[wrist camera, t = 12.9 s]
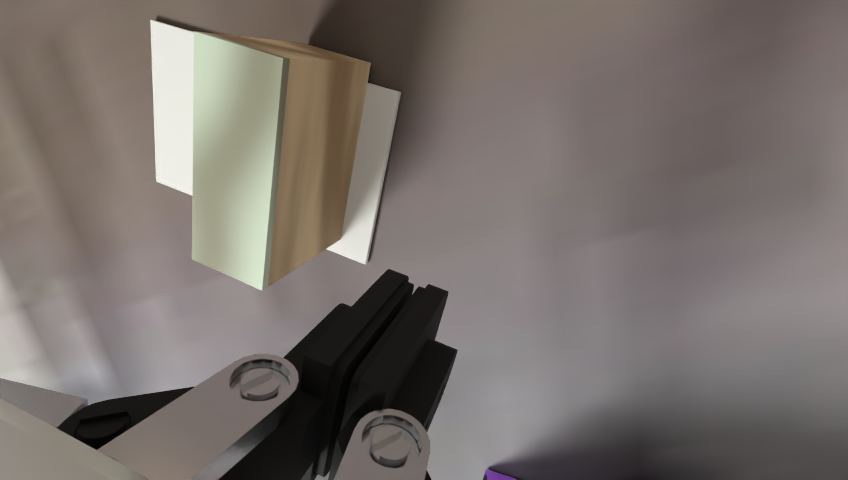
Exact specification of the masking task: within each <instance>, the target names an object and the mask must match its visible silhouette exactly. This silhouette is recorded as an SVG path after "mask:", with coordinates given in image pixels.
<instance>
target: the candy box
mask: <svg viewBox="0 0 848 480" xmlns="http://www.w3.org/2000/svg"><path fill="white" fill-rule="evenodd" d="M483 480H519V479H516V478H512V477H510V476H507V475H503V474H500V473H497V472H494V471H491V470H488V469H487V470H486V471H485V474H484V478H483Z"/></svg>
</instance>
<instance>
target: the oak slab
mask: <svg viewBox="0 0 848 480" xmlns="http://www.w3.org/2000/svg"><path fill="white" fill-rule="evenodd" d="M370 66H371V63H370V62H366V61H363V60H359V59H356V58H352V57H349V56H346V55H342V54H339V53H335V52H332V51H328V50H325V49H321V48H318V47H315V46H311V45H308V44H304V43H298V42H288V41H279V40H270V39H261V38H251V37H242V36H233V35H224V34H215V33H205V32H196V31H194V87H193V198H192V259H193V260H195V261H197V262H199V263H202V264H204V265H206V266H208V267H211V268H213V269H215V270H217V271H219V272H222V273H224V274H226V275H228V276H231V277H233V278H235V279H237V280H240V281H242V282H244V283H246V284H248V285H251V286H253V287H255V288H257V289H260V290H264V289H265V288H267V287H268V286H270V285H271V284H273V283H275V282H276V281H278V280H279V279H281V278H282V277H284V276H285V275H287V274H288V273H290V272H291V271H293V270H294V269H296V268H298V267H299V266H301V265H302V264H304V263H305V262H307V261H308V260H310V259H311V258H313V257H314V256H316V255H317V254H319V253H321V252H322V251H324V250H325V249H327V248H328V247H330V246H331V245H333V244H334V243H336V242H337V241H339V240H340V239H341V234H342V229H343V223H344V217H345V211H346V205H347V199H348V194H349V188H350V182H351V176H352V170H353V165H354V159H355V153H356V147H357V141H358V135H359V130H360V124H361V118H362V112H363V106H364V100H365V95H366V89H367V83H368V77H369V71H370Z"/></svg>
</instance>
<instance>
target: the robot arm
mask: <svg viewBox="0 0 848 480" xmlns="http://www.w3.org/2000/svg"><path fill="white" fill-rule="evenodd" d="M408 279H409V278H408V276H406V275H403V274H401V273H398V272H395V271H393V270H390V269H388V270H387V271H386V272H385V273H384V274H383V275H382V276H381V277H380V278H379V279H378V280H377V281H376V282H375V283H374V284H373V285H372V286H371V287H370V288H369V289H368V290H367V291H366V292H365V293H364V294H363V295H362V296H361V297H360V298H359V300H358V301H357V302H356V303H355V304H354V305H353V306H352V307H351V306H348V305H346V304H343V303H342V304H339V305H338V306H337V307H335V308H334V309H333V310H332V311H331V312H330V313H329V314H328V315H327V316H326V317H325V318H324V319H323V320H322V321H321V322H320V323H319V324H318V325H317V326H316V327H315V328H314V329H313V330H312V331H311V332H310V333H309V334H308V335H307V336H305V337H304V338H303V339H302V340H301V341H300V342H299V343H298V344H297V345H296V346H295V347H294V348H293V349H292V350H291V351H290V352H289V353H288V354H287V355H286V356H285V357H284V358H282V357H280V356H277V355H271V354H254V355H250V356H246V357H243V358H241V359H239V360H237V361H235V362H233V363H232V364H230V365H228V366H227V367H225V368H224V369H222V370H221V371H219V372H217V373H216V374H214V375H213V376H211V377H210V378H208V379H207V380H205V381H203V382H202V383H200V384H199V385H197V386H196V387H189V388H183V389H176V390H170V391H163V392H156V393H150V394H143V395H136V396H130V397H123V398H117V399H110V400H106V401H101V402H97V403H94V404H91V405H88V402H87V399H86V398H82V397H77V396H73V395H69V394H65V393H60V392H56V391H52V390H48V389H43V388H39V387H35V386H31V385H26V384H22V383H18V382H14V381H9V380H5V379H1V378H0V480H314V479H315V478H316V476H317V475H318V474H319V475H321V476H323V477H325V476H326V475H327V474H328V472H329V471H330V474H329V479H328V480H431V478H430V476H429V474H428V472H427V465H428V460H429V455H430V440H429V437H428V434H427V431H428V429H429V426H430V424H431V422H432V419H433V417H434V414H435V412H436V410H437V407H438V405H439V403H440V400H441V398H442V395H443V392H444V390H445V387H446V384H447V381H448V379H449V376H450V373H451V370H452V367H453V364H454V361H455V358H456V354H457V349H454V348H452V347H449V346H447V345H444V344H442V343H439V342H437V341H435V337H436V334H437V331H438V327H439V324H440V321H441V317H442V314H443V310H444V307H445V304H446V300H447V297H448V291H446V290H443V289H440V288H438V287H435V286H432V285H430V284H428V285H427V286H426V288H422V287H418V288H417V289H416V291H415V292H414V293H413V295H412V292H413V288H414V284H412V283H409V282H408Z"/></svg>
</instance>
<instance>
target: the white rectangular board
mask: <svg viewBox="0 0 848 480" xmlns="http://www.w3.org/2000/svg"><path fill="white" fill-rule="evenodd" d="M151 46H152V74H153V102H154V131H155V159H156V181H157V182H159V183H162V184H164V185H167V186H169V187H172V188H174V189H177V190H179V191H182V192H184V193H187V194H189V195H192V196H193V87H194V32H193V31H189V30H186V29H183V28H179V27H176V26H172V25H169V24H165V23H162V22H159V21H155V20H151ZM400 96H401V92H399V91H395V90H392V89H388V88H385V87H381V86H378V85H375V84H371V83H367V89H366V95H365V100H364V106H363V112H362V118H361V124H360V130H359V135H358V141H357V147H356V153H355V159H354V165H353V170H352V176H351V182H350V188H349V194H348V199H347V205H346V211H345V217H344V223H343V229H342V234H341V239H340V240H339V241H337V242H336V243H334V244H333V245H331V246H330V247H328V248H327V250H330V251H332V252H335V253H337V254H340V255H342V256H345V257H348V258H350V259H353V260H355V261H358V262H360V263H363V264H367V263H368V258H369V253H370V248H371V243H372V238H373V233H374V228H375V223H376V218H377V213H378V208H379V202H380V197H381V192H382V187H383V182H384V177H385V172H386V167H387V162H388V157H389V152H390V147H391V142H392V137H393V131H394V126H395V121H396V116H397V111H398V106H399V101H400Z"/></svg>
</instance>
